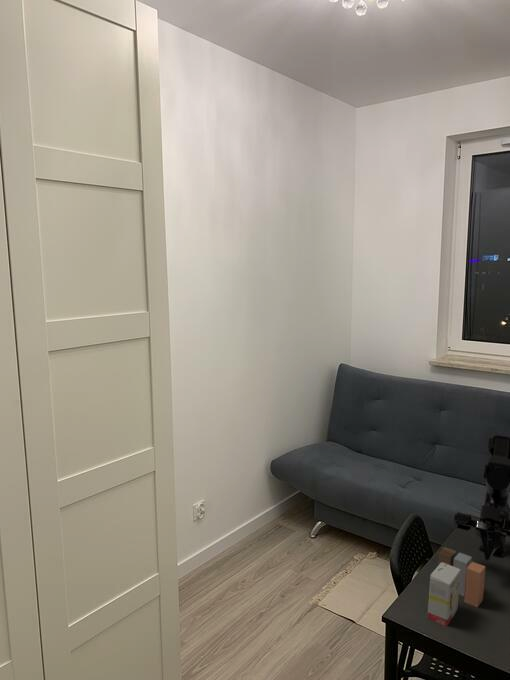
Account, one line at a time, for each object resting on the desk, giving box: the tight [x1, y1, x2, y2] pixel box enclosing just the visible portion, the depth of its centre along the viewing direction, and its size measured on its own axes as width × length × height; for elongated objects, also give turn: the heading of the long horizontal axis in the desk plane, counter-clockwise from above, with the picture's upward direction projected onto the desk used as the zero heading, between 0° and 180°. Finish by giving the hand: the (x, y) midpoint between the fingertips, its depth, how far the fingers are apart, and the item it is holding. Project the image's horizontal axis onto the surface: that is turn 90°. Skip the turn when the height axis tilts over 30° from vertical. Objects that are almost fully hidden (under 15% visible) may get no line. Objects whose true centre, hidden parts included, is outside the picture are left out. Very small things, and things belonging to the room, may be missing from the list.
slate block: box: [453, 552, 473, 597], centre depth 133 cm, size 4×3×9 cm
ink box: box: [427, 563, 461, 627], centre depth 124 cm, size 9×5×12 cm, turn 142°
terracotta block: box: [463, 561, 486, 608], centre depth 128 cm, size 4×3×9 cm
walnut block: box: [437, 546, 457, 566], centre depth 135 cm, size 4×3×9 cm
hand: (486, 560), depth 135 cm, fingers closed
